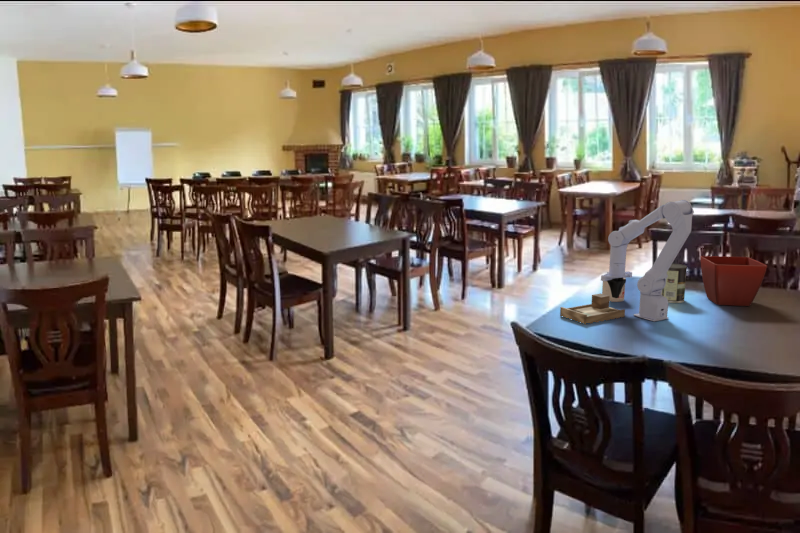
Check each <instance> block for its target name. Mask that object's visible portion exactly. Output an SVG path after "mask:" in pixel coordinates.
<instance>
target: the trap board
mask: <svg viewBox="0 0 800 533" xmlns="http://www.w3.org/2000/svg"><path fill="white" fill-rule="evenodd" d="M591 304H592V303H590V304H589V303H588V304H584V305H583V304H582V305H577V306H572V307H564V306H561V307H560V308H559V310H560V312H559V317H560V316H563V317H566V318H569V319H572V320H575V321H578V322H581V323H584V324H585V325H587V324H586V323H590V324H594V323H593V322H596V323H600V322H599V321H601V322H605V321H604V320H606V321H610V319H611V320H615V318H616V319H621V318H625V316H626V315H625V314H626V309H625V308H623V309H618V308H614V307H610V306H609V308H604V309H598V308H595V307H591ZM563 317H562V318H563ZM620 317H621V318H620ZM566 318H565V319H566ZM569 319H568V320H569ZM572 320H571V321H572ZM575 321H574V322H575ZM578 322H577V323H578ZM581 323H580V324H581ZM584 324H583V325H584Z"/></svg>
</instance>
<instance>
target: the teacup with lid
mask: <svg viewBox="0 0 800 533" xmlns="http://www.w3.org/2000/svg"><path fill="white" fill-rule="evenodd" d="M626 278H627V277H626ZM626 278H623V279H625V280H626V281H627V279H626ZM625 292H626V283H625V284H624V286H623V287H622V289H621V292H620V295H619V298H613V297H612V294H611V289H610V286H609V284H608V282H607V281H602V289H601V294H604V295H608V296H610V299H609V302H610V301H611V302H612V303H619V302H620V303H621V302H624V301H625ZM611 302H610V303H611Z"/></svg>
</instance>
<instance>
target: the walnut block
mask: <svg viewBox="0 0 800 533" xmlns="http://www.w3.org/2000/svg"><path fill="white" fill-rule="evenodd" d="M609 299H610V296H608V295H604V294H602V292H601V293H595V294H592V295H591V303H590V304H591V307H595V308H598V309H604V308H609V307H610V301H609Z"/></svg>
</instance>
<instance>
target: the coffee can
mask: <svg viewBox="0 0 800 533" xmlns="http://www.w3.org/2000/svg"><path fill="white" fill-rule="evenodd" d="M687 269H688V266H687V265H685V264H680V263H672V264H671V266H670V268H669V270H668V271H667V275H668V277H667V279H666V285H665V287H664V288H663V289H662V293H661V294H662V296H664V297H666V298H667V299H668V304H680V303H681V304H682V303H684V302H685V296H686V295H685V294H686V282H687V271H688V270H687Z"/></svg>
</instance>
